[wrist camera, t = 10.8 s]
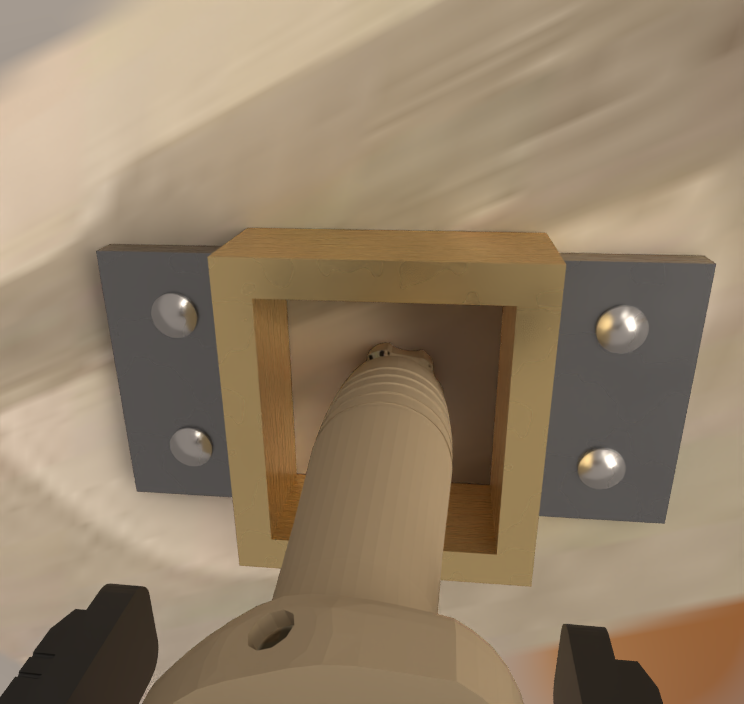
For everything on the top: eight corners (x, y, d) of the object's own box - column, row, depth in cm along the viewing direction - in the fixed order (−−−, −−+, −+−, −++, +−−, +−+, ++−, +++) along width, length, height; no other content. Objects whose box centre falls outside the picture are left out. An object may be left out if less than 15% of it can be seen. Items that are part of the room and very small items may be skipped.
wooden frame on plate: (107, 225, 23) (41, 253, 19) (708, 235, 21) (764, 268, 17) (149, 490, 27) (102, 555, 23) (653, 521, 25) (689, 597, 21)
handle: (290, 347, 24) (67, 713, 10) (460, 290, 22) (477, 629, 8) (340, 457, 25) (207, 908, 11) (502, 412, 24) (574, 867, 10)
